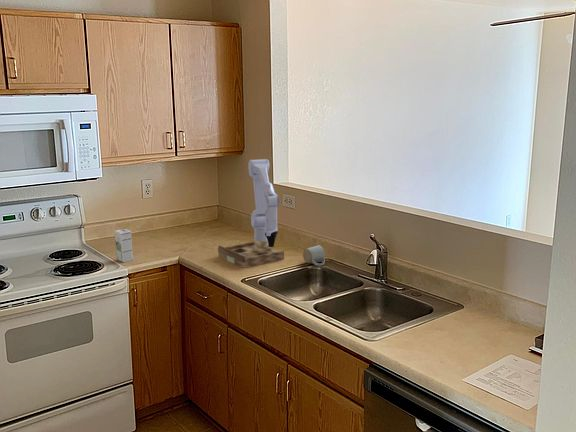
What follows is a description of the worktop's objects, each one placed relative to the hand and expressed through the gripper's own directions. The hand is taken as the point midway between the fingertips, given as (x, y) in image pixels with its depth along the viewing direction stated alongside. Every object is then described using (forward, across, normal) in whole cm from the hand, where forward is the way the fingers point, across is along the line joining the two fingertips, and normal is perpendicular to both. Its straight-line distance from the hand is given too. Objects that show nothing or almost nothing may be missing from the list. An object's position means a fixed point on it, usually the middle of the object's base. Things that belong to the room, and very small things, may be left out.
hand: (271, 246), depth 282 cm
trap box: (+3, +9, -8) cm, 13 cm away
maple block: (+1, +5, -4) cm, 6 cm away
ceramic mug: (+4, +11, +24) cm, 26 cm away
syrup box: (+4, +24, -66) cm, 70 cm away
